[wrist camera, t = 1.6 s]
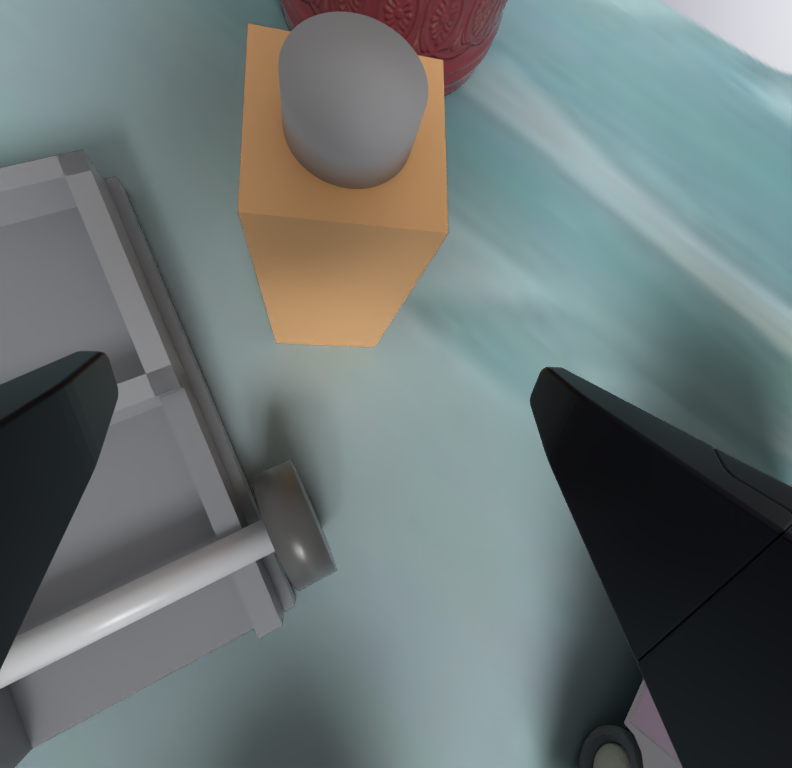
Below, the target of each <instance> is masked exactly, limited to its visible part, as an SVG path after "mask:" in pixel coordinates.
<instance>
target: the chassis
mask: <svg viewBox="0 0 792 768" xmlns="http://www.w3.org/2000/svg"><path fill="white" fill-rule="evenodd" d="M77 351H101V352H104V353H105V354H107V356H108V357H109V360H110V363H111V366H112V369H113V373H114V376H115V379H116V382H117V386H118V400H117V403H116V406H115V409H114V412H113V416H112V419H111V422H110V425H109V428H108V431H107V434H106V438H105V441H104V444H103V447H102V450H101V453H100V456H99V459H98V462H97V465H96V467H95V469H94V472H93V474H92V476H91V479H90V481H89V483H88V485H87V487H86V489H85V491H84V493H83V496H82V498H81V500H80V502H79V504H78V506H77V508H76V510H75V513H74V515H73V517H72V519H71V521H70V523H69V525H68V527H67V530H66V532H65V534H64V536H63V538H62V540H61V542H60V544H59V546H58V549H57V551H56V553H55V555H54V557H53V559H52V561H51V563H50V566H49V568H48V570H47V572H46V574H45V576H44V578H43V580H42V583H41V585H40V587H39V589H38V591H37V593H36V595H35V597H34V600H33V602H32V604H31V606H30V608H29V610H28V612H27V614H26V617H25V619H24V621H23V623H22V625H21V627H20V629H19V631H18V633H17V636H16V638H15V640H14V642H13V644H12V646H11V648H10V650H9V653H8V655H7V657H6V659H5V661H4V663H3V665H2V667H1V670H0V768H14V767H15V766H16V765H17V764H18V763H19V762H20V761H21V760H22V759H23V758H24V757H25V756H26V755H27V753H28V752H29V751H30V750H31V749H32V748H34V747H36V746H38V745H39V744H41V743H43V742H45V741H47V740H49V739H51V738H52V737H54V736H56V735H58V734H60V733H62V732H63V731H65V730H67V729H69V728H71V727H73V726H75V725H76V724H78V723H80V722H82V721H84V720H86V719H87V718H89V717H91V716H93V715H95V714H97V713H99V712H100V711H102V710H104V709H106V708H108V707H110V706H111V705H113V704H115V703H117V702H119V701H121V700H123V699H124V698H126V697H128V696H130V695H132V694H134V693H135V692H137V691H139V690H141V689H143V688H145V687H147V686H148V685H150V684H152V683H154V682H156V681H158V680H159V679H161V678H163V677H165V676H167V675H169V674H171V673H172V672H174V671H176V670H178V669H180V668H182V667H184V666H185V665H187V664H189V663H191V662H193V661H195V660H196V659H198V658H200V657H202V656H204V655H206V654H208V653H209V652H211V651H213V650H215V649H217V648H219V647H220V646H222V645H224V644H226V643H228V642H230V641H232V640H233V639H235V638H237V637H239V636H241V635H243V634H244V633H246V632H248V631H250V630H252V629H254V630H255V632H256V635H257V637H258V639H259V638H261V637H263V636H265V635H266V634H268V633H270V632H272V631H274V630H276V629H277V628H279V627H281V626H282V625H283V618H284V612H285V611H287V610H289V609H291V608H292V607H294V606H295V602H296V597H295V595H294V593H293V590H292V588H291V585H290V583H289V581H288V578H289V580H290V582H291V583H292V585H293V586H294V587H295V588H296V589H297V590H298V591H300V590H302V589H304V588H306V587H307V586H309V585H311V584H313V583H315V582H317V581H319V580H321V579H322V578H324V577H326V576H328V575H330V574H332V573H334V572H336V571H337V568H336V565H335V562H334V559H333V556H332V553H331V550H330V548H329V545H328V542H327V540H326V537H325V535H324V532H323V530H322V527H321V525H320V522H319V520H318V518H317V515H316V513H315V510H314V508H313V506H312V503H311V501H310V499H309V497H308V494H307V492H306V490H305V487H304V485H303V483H302V481H301V479H300V477H299V474H298V472H297V470H296V468H295V466H294V464H293V463H292V461H291V459H289V460H287V461H285V462H283V463H280V464H278V465H276V466H274V467H271V468H269V469H267V470H265V471H263V472H260V473H258V474H256V475H254V476H253V478H252V481H253V488H254V493H255V497H256V500H257V504H258V507H259V509H258V507H257V504H256V502H255V499H254V497H253V495H252V492H251V490H250V487H249V485H248V483H247V480H246V478H245V476H244V473H243V471H242V468H241V466H240V464H239V461H238V459H237V456H236V454H235V452H234V449H233V447H232V444H231V442H230V440H229V437H228V435H227V433H226V430H225V428H224V425H223V423H222V421H221V418H220V416H219V413H218V411H217V409H216V406H215V404H214V401H213V399H212V397H211V394H210V392H209V389H208V387H207V385H206V382H205V380H204V378H203V375H202V373H201V370H200V368H199V366H198V363H197V361H196V358H195V356H194V354H193V351H192V349H191V346H190V344H189V342H188V339H187V337H186V334H185V332H184V330H183V327H182V325H181V323H180V320H179V318H178V315H177V313H176V311H175V308H174V306H173V303H172V301H171V299H170V296H169V294H168V291H167V289H166V287H165V284H164V282H163V280H162V277H161V275H160V272H159V270H158V268H157V265H156V263H155V260H154V258H153V256H152V253H151V251H150V248H149V246H148V244H147V241H146V239H145V236H144V234H143V232H142V229H141V227H140V225H139V222H138V220H137V217H136V215H135V213H134V210H133V208H132V205H131V203H130V201H129V198H128V196H127V193H126V191H125V189H124V188H123V186H122V185H121V183H120V182H119V180H118V179H117V178H116V177H112V178H108V179H104V178H103V177H102V175H101V174H100V173H99V171H98V170H97V169H96V167H95V166H94V165H93V163H92V162H91V161H90V159H89V158H88V157H87V155H86V154H85V153H84V151H83V150H78V151H73V152H69V153H65V154H60V155H56V156H51V157H47V158H42V159H38V160H34V161H29V162H25V163H20V164H16V165H11V166H7V167H3V168H0V384H2V383H5V382H7V381H9V380H12V379H14V378H16V377H19V376H21V375H23V374H26V373H28V372H30V371H33V370H35V369H37V368H40V367H42V366H44V365H47V364H49V363H51V362H54V361H56V360H58V359H61V358H63V357H65V356H68V355H70V354H72V353H75V352H77ZM259 510H260V511H259ZM260 513H261V514H260ZM285 573H286V574H285ZM286 575H287V576H288V578H287V576H286Z"/></svg>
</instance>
